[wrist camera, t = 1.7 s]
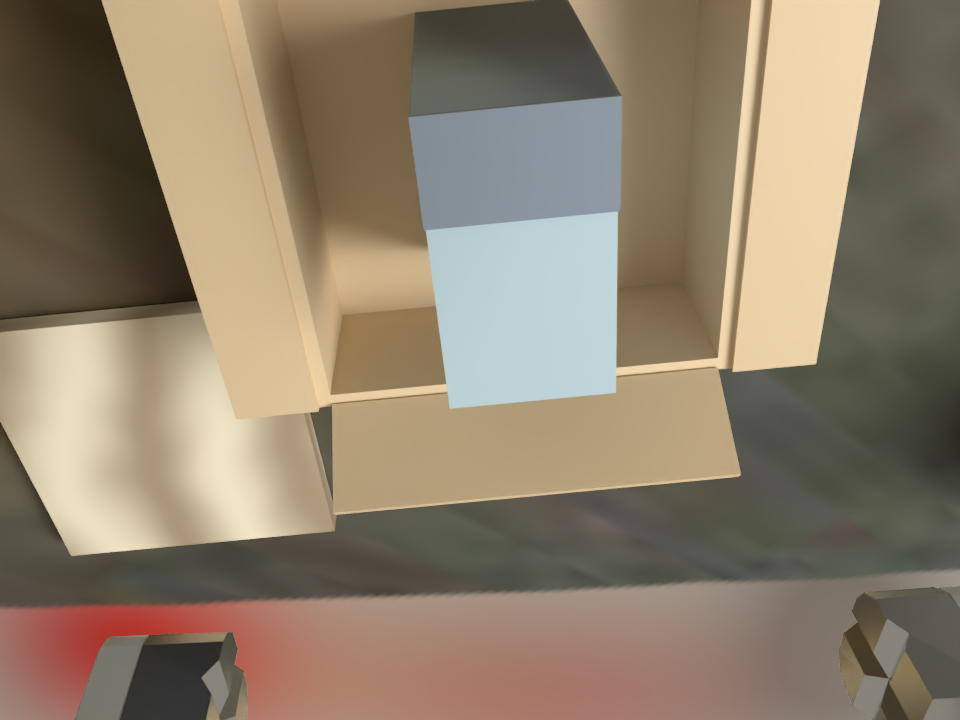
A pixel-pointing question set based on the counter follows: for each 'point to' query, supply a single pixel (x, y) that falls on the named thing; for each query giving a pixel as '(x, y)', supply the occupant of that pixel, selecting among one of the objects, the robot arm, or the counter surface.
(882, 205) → the counter surface
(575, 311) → the slate-blue box
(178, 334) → the birch board
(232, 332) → the carton
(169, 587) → the counter surface
